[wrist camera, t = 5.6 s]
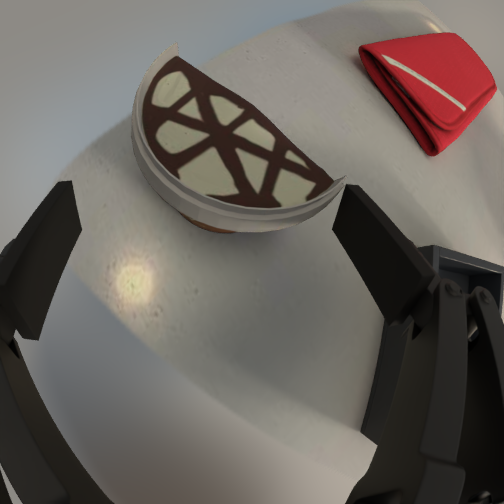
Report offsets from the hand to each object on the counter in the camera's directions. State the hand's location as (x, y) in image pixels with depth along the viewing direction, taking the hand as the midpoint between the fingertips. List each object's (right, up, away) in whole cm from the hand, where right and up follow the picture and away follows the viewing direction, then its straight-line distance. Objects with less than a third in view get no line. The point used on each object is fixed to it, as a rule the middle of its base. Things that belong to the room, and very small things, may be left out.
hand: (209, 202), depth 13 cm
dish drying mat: (+33, +26, +18) cm, 46 cm away
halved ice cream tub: (-2, +2, +8) cm, 9 cm away
